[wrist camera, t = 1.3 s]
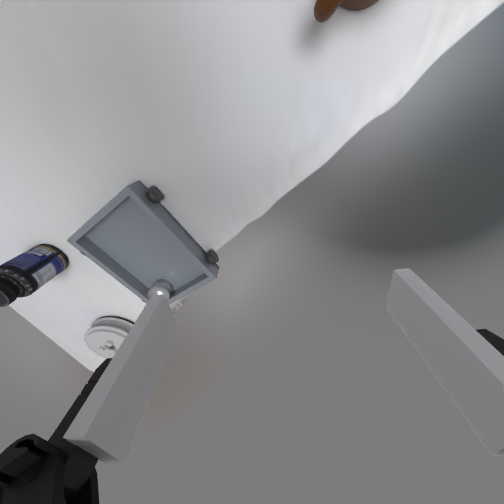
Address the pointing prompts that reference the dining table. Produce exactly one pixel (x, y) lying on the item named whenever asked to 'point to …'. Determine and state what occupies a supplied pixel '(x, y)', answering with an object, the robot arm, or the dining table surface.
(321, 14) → the mug
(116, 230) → the cart
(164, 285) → the metal part
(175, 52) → the dining table surface
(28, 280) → the pill bottle
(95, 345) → the lid
